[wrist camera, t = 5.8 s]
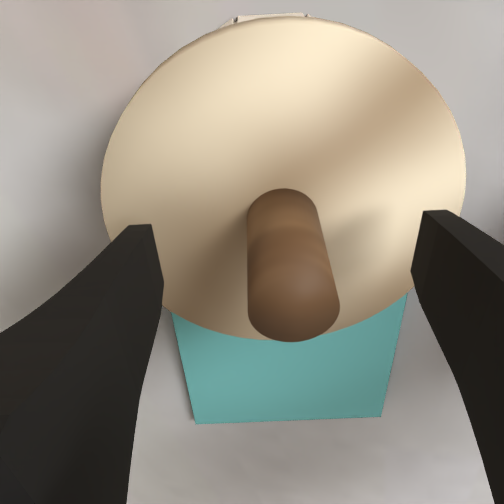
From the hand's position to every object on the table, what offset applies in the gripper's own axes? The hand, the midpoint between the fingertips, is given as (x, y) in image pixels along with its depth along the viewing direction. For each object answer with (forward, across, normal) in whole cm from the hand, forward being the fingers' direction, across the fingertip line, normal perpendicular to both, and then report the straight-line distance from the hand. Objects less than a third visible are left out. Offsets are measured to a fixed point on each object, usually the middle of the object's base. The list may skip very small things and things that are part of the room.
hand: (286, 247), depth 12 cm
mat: (+7, -1, +13) cm, 15 cm away
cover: (+3, 0, 0) cm, 3 cm away
